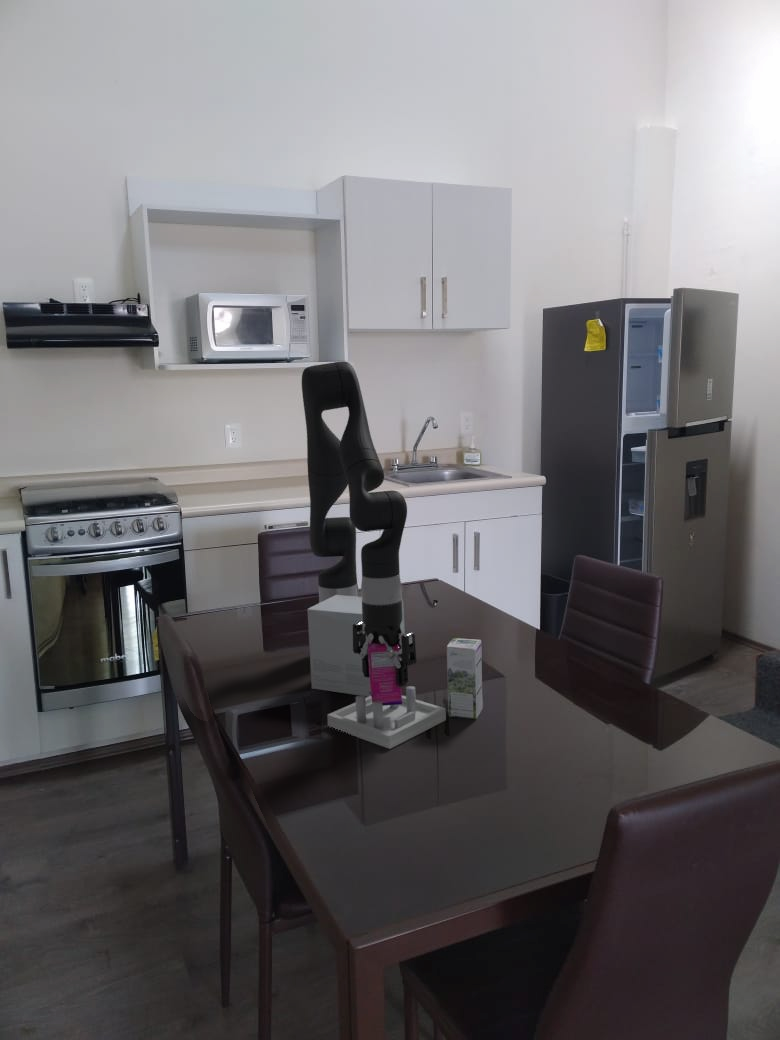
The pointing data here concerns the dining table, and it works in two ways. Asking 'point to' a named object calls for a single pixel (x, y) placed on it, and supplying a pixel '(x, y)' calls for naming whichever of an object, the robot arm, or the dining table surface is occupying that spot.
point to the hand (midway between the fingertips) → (384, 680)
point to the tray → (387, 719)
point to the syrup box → (464, 678)
